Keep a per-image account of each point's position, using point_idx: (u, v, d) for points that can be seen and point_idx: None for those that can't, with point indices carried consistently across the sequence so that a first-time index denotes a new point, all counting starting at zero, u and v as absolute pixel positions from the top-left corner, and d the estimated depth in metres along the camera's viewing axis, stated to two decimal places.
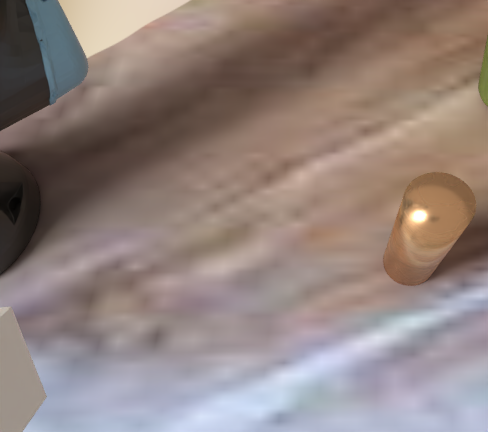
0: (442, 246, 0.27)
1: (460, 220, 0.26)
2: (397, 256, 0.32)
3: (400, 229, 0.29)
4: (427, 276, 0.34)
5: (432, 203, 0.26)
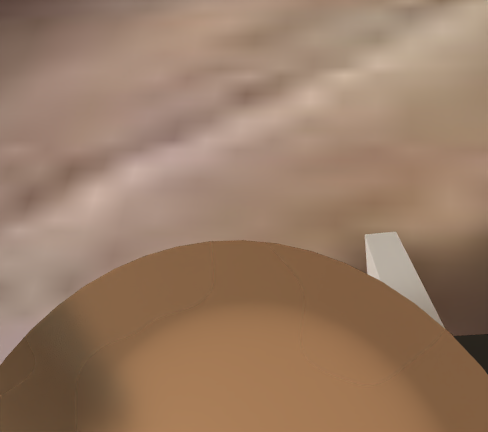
0: None
1: None
2: None
3: None
4: None
5: None
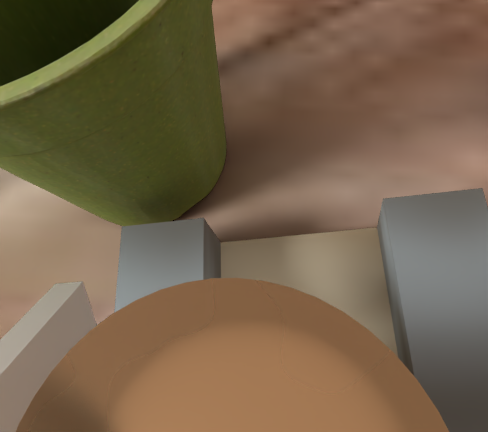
0: None
1: None
2: None
3: None
4: None
5: None
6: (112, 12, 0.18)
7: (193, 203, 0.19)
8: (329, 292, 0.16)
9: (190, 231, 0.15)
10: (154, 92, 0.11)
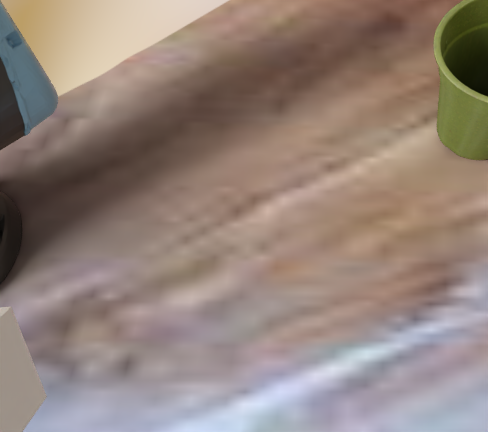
0: None
1: None
2: None
3: None
4: None
5: None
6: (478, 60, 0.41)
7: None
8: None
9: None
10: None
